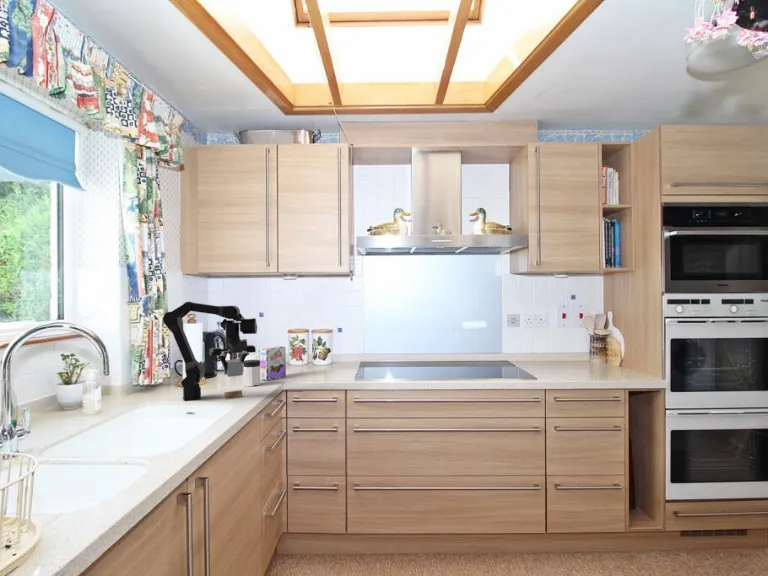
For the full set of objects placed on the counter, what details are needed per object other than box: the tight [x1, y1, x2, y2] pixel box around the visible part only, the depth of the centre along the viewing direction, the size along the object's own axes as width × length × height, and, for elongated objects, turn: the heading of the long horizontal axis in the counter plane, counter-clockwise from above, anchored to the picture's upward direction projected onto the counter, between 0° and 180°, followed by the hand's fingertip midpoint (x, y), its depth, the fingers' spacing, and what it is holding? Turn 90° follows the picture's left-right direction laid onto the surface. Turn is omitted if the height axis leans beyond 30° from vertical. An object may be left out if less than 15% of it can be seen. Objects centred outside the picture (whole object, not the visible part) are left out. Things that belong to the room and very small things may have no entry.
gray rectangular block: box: [223, 358, 244, 378], centre depth 200 cm, size 6×8×6 cm
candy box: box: [258, 345, 287, 381], centre depth 242 cm, size 14×6×16 cm, turn 147°
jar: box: [242, 359, 262, 387], centre depth 225 cm, size 9×8×12 cm
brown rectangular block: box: [224, 389, 243, 400], centre depth 199 cm, size 7×2×2 cm, turn 121°
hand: (233, 370), depth 200 cm, fingers closed on gray rectangular block, 6 cm apart
